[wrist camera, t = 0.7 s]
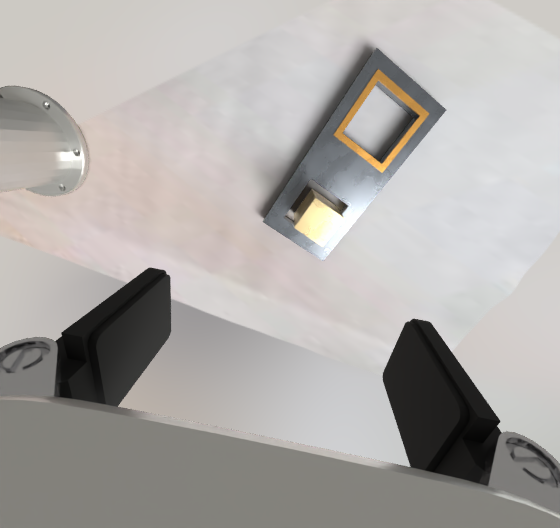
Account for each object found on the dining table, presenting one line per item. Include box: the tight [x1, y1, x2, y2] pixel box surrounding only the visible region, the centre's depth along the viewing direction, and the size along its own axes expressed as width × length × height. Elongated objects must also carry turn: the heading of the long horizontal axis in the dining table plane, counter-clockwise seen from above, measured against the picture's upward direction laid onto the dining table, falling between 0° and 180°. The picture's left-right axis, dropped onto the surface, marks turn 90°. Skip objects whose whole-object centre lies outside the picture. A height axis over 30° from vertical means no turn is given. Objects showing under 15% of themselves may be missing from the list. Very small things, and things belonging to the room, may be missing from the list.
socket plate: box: [263, 48, 446, 261], centre depth 32 cm, size 22×10×2 cm, turn 146°
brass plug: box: [294, 188, 345, 247], centre depth 32 cm, size 4×4×7 cm
